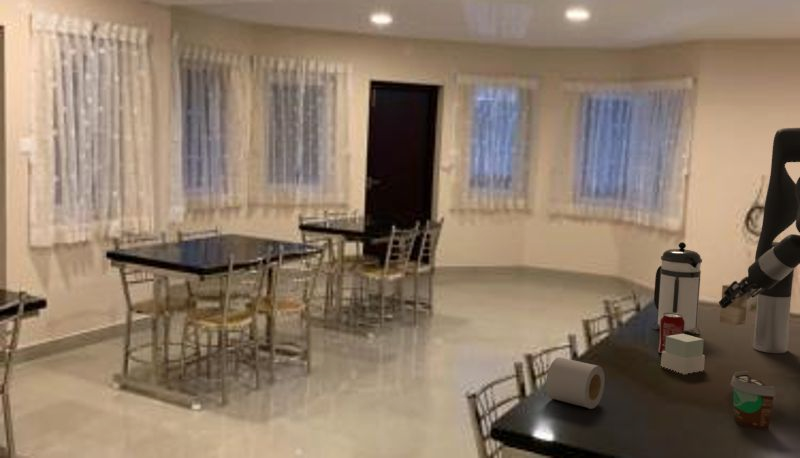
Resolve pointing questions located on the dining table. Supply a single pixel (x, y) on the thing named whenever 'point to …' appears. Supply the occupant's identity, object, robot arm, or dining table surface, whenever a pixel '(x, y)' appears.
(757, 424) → the food container
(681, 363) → the tower base
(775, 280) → the robot arm
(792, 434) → the dining table surface
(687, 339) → the tower top
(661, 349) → the soda can
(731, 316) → the beech pillar
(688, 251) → the coffee press
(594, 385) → the toilet paper
